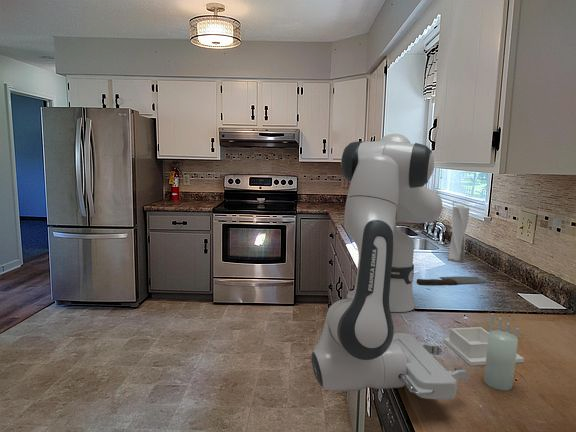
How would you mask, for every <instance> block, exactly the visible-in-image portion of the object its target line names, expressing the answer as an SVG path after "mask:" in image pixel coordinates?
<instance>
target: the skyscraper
mask: <svg viewBox="0 0 576 432" xmlns="http://www.w3.org/2000/svg"><path fill="white" fill-rule="evenodd" d="M455 204H456V205H457V206H454V205H455ZM451 213H452V214H451V230H452V231H451V232H452V234H451V236H450V237H451V239H450V244H449V245H450V246H449V254H448V259H447V261H450V262H456V263H461V264H463V263H465V262H467V261H468V259H467V258H465V252H466V251H465V250H466V230H467V227H468V223H469V216H470V215H469V214H470V207H469V206H468V205H463V204H458V203H457V202H456V201H453V202H452V212H451Z"/></svg>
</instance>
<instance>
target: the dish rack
mask: <svg viewBox="0 0 576 432" xmlns="http://www.w3.org/2000/svg"><path fill="white" fill-rule="evenodd" d="M489 319H490V320H489V326H488V331H487V330H486V329H484V328H483V327H482V326H476V327H475V326H474V327H457V328H456V327H454V328H450V330H449V332H450V333H449V337H446V338H445V337H444V338H443V340H442V342H443V343H444V344H445V345H446V346H448V347H449V348H450V349H451V350H452V351H453V352H454V353H456V354H457V355H458V356H459V357H460V358H461V359H462V360H463V361H465V362H466V363H467V364H468V365H469V366H470V367H473V366H474V367H477V366H485V364H486V355H487V346H488V337H489V332H490V331H494V323H495V322H494V319H495V313H492V312H491V313H490V318H489ZM502 322H503V318H501V317H498V319H497V327H496V328H497V329H496V330H498V331H502ZM510 331H511V323H509V322H506V326H505V332H508V333H510ZM514 335H515V336H516V337H517V338H518V339H519V335H520V328H517V327H516V328H515V329H514ZM517 346H518V344H517ZM517 352H518V351H517ZM517 352H516V360H515V364H519V363H524V362H525V358H524V357H523V356H521V355H520V354H519V353H517Z"/></svg>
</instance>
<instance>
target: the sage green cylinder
mask: <svg viewBox="0 0 576 432" xmlns="http://www.w3.org/2000/svg"><path fill="white" fill-rule="evenodd" d="M488 332H489V331H488ZM518 343H519V337H518V338H517V337H516V336H515V334H514V333H508V332H506V331H504V330H503V331H502V330H501V331H498V330H497V329H495V330H494V329H493V331H490V332H489V337H488V346H487V355H486V364H485V365H484V374H483V375H484V376H483V381H484V383H485V384H486V385H487V386H488V387H490V388H492V389H495V390H497V391H503V392H504V391H505V392H506V391H511V390H512V389H513V384H514V375H515V368H516V363H515V360H516V352H518V345H517V344H518Z"/></svg>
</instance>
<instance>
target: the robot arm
mask: <svg viewBox="0 0 576 432" xmlns="http://www.w3.org/2000/svg"><path fill="white" fill-rule="evenodd" d="M434 168H435V160H434V155H433V153H432V150H431V149H430V147H428V145H424V144H422V143H419V142H415V143H411V141H410V140H409V139H408V137H406V135H403V134H400V133H390V134H386V135H384V136H383V137H381V138H380V139H379V140H378V141H377V140H375V141H373V140H372V141H363V140H359V141H352V142H350V143H349V144H347V145H346V147H344V148H343V152H342V156H341V159H340V169H341V174H342V176H343V177H344V178H345V180H347V181H349V182H350V183H349V187H348V191H347V195H346V201H345V207H344V219H343V220H344V221H343V223H344V224H343V226H344V230H345V232H346V233H347V235H348V236H349V237H350V238H351V239H352V240H353V242H354V243H355V245H356V247H357V251H358V261H357V271H356V279H355V284H354V289H353V290H351V291H349V292H348V293H347V295H346V298H340V299H338V300H336V301H334V302H333V303H332V304H331V305H330V306H328V309H327V311H326V313H325V316H324V317H325V318H324V324H323V325H324V326H323V328H322V332H321V336H320V338H319V340H318V343H317V345H316V346H315V348H314V349H312V352H311V366H312V370H313V374H314V377H315V379H316V381H317V383H318V384H319V385H320V387H321V388H323V389H324V390H326V391H331V392H332V391H333V392H356V391H357V392H358V391H362V390H365V389H367V388H368V389H369V388H371V389H375V390H376V389H377V390H384V389H385V390H386V389H387V390H388V389H399V388H403V387H404V386H406V387H405V388H406V390H407V391H409V393H413V394H415V395H416V396H417V397H419V398H422V399H426V400H452V399H454V398H455V396H456V395H457V388H458V387H457V385H458V382H459V381H461V380H463V381H464V380H466V379H467V378H468V377H467V375H468V372H467V371H466V370H465V369H464V368H463V367H454V371H451V370H447V369H446V368H445V367H444V366H443V365H442V364H441V363H440V362H439V361H438V360H437V359H436V358H435V357H434V356H441V355H442V350H443V349H442V348H441V346H440V345H438V344H429V343H426V342H419V341H418V340H417V339H416V338H415V337H414V336H413V335H412V334H409V333H406V332H394V331H395V330H394V322H393V317H392V314H391V313H405V312H410V311H413V310H414V309H415V308H416V305H415V300H414V294H413V282H414V276H415V275H414V274H415V264H414V251H415V243H414V240H413V238H412V237H411V236H409V234H407V233H405V232H403V231H402V230H400V229H399V228H398V227H397V224H396V223H409V224H425V223H426V224H427V223H434V222H435V221H436V220H437V219H439V217H440V216H441V214H442V212H443V211H442V210H443V200H442V198H441V196H440V195H439V194H438V192H437V191H435V190H432V189H430V188H427V187H426V186H425V185H426V184H428V183H429V180H430V178H431V177H432V175H433V172H434Z"/></svg>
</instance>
